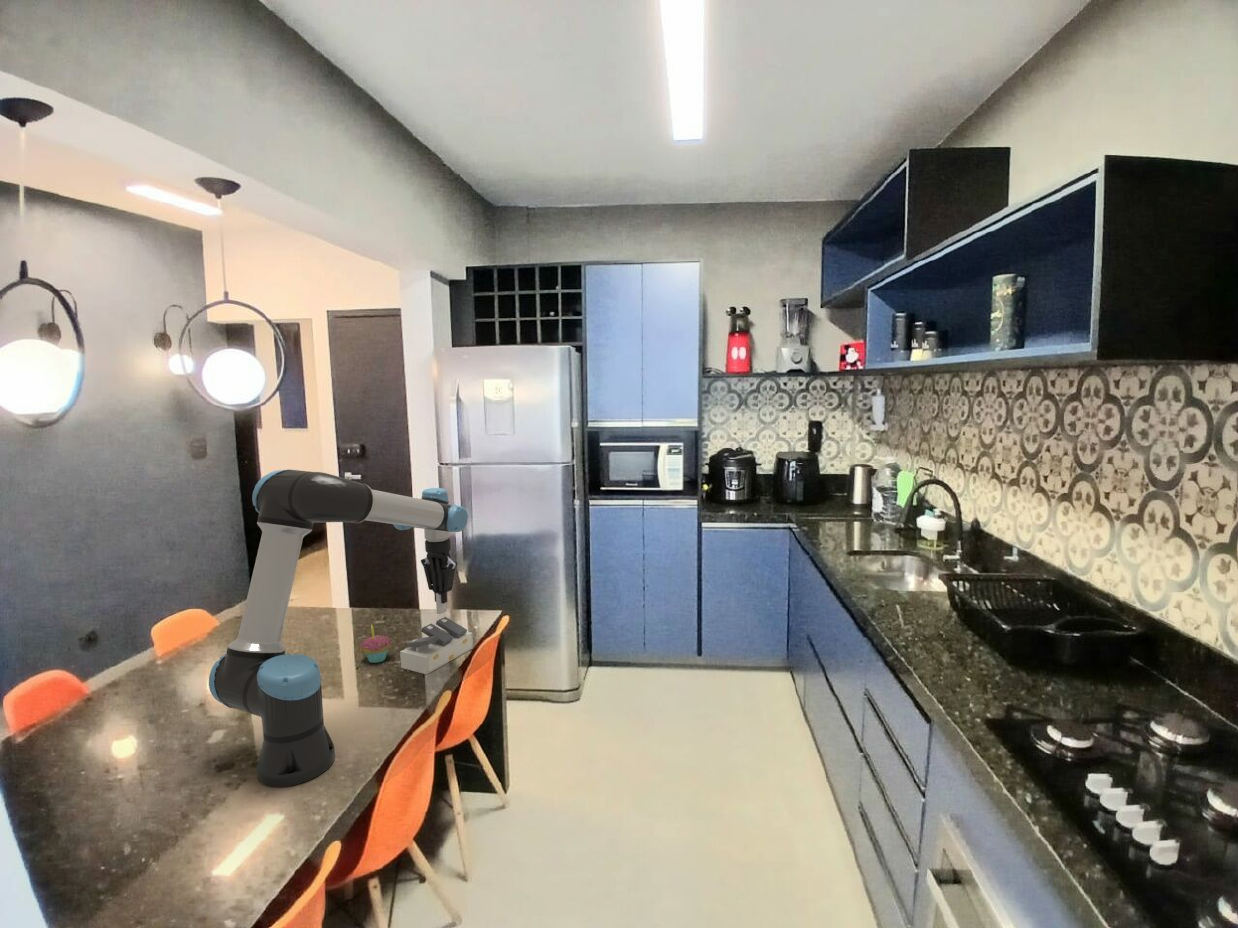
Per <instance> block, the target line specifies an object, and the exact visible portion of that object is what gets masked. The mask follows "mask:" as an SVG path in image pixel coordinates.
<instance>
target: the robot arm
mask: <svg viewBox="0 0 1238 928" xmlns="http://www.w3.org/2000/svg"><path fill="white" fill-rule="evenodd" d="M251 497H252V505H253V506H254V507H255V509H254V510H255V512H257V513H258V517H257V522H256V524H257V526H258V527H259V528H260V530H261V537H260V541H259V545H258V549H257V555H256V557H255V563H254V567H253V571H252V575H251V580H250V584H249V587H248V592H247V597H246V600H245V605H244V610H243V614H242V617H241V623H240V627H239V631H238V636H237V638H235V640H233V641H232V642H231V643H229V644H228V646H227V649H226V653H224V654H223V655H221V656H220V657H219V660H217V661H215V663H214V664H213V666H212V667H211V669H210V671H209V672H210V673H209V676H208V688H209V692H210V694H211V696H212V697H213V698H214V699H215V700H216V701H217V702H218V703H220V704H223V706H225V707H227V708H228V709H229V708H230V709H232V710H239V711H241V712H245V713H247V714H251V715H254V716H257V717H260V719H261V727H262V736H263V741H262V744H261V749H260V751H259V756H258V757H259V758H258V760H257V763H256V777H257V780H258V782H260V784H262V785H265V786H266V787H267V786H268V787H273V788H283V787H291V786H296V785H299V784H302V783H305V782H308V781H310V780H312V779H314V778H316V777H318V776H320V775H322V774H323V773H324V772H326V771H328V769H329V768H330V767H331V766H332V765H333V764H334V762H335V760H336V749H335V748H336V747H335V744H334V741H333V740H332V738H331V736H330V733H329V732H328V730H327V728H326V726H325V721H324V706H323V693H322V692H323V691H322V676H321V672H320V671H321V670H320V667H319V664H318V661H316V660H315V659H314V658H313V657H311V656H309V655H306V654H301V653H294V654H291V653H286V651H287V649H286V646H285V645H284V644H283V643H282V641H281V640H282V636H283V635H282V634H283V631H284V626H285V622H286V617H287V611H288V607H289V604H290V603H289V602H290V598H291V593H292V589H293V585H294V580H295V577H296V571H297V566H298V563H299V558H300V553H301V549H302V545H303V539H304V537H305V536H307V535H308V534H310V533H311V532H312V531H313V527H314V524H315V523H316V524H317V523H321V524H322V523H351V524H360V523H362V522H364V521H369V522H377V523H383V524H384V523H385V524H389V525H390V524H391V525H393V527H394V528H395V529H397V530H399V531H404V530H405V531H406V530H408V531H409V530H410V529H412V528H413V529H414V528H415V529H416V528H417V529H422V530H423V529H424V540H425V541H424V546H425V547H424V550H425V552H426V557H424V558H422V559H420V563H421V564H422V567H423V571H424V575H425V579H426V582H427V583H426V584H427V587H428V590H430V591H432V592H433V594H434V602H435V603H436V605H435V606H436V614H437V615H441V614H445V613H446V612H447V602H448V592H451V591H453V585H454V579H455V578H454V577H455V574H456V573H455V572H456V568H457V566H458V562H457V561H453V560H452V557H451V555H450V553H451V552H450V551H451V549H452V547H451V546H452V545H451V544H452V543H451V538H450V537H451V533H460V532H462V531H464V529H465V528H466V527H467V525H468V519H469V515H468V511H467V509H466V507H464V506H462V505H457V504H449V496H448V491H447V489H446V488H441V487H434V488H433V487H432V488H431V487H430V488H426V489H424V490H422V492H421V498H418V497H412V496H407V495H402V494H396V493H392V492H387V491H381V490H377V489H372V488H371V487H370V486H369V485H368V484H367V483H363V482H358V481H354V480H350V479H348V478H344V477H340V476H337V475H335V474H330V473H327V472H323V471H322V472H321V471H309V470H300V469H298V470H297V469H283V470H282V469H279V470H274V471H271V472H269V473H267V474H265V475H264V476H262V477H261V478H260V479H259V480H258V481H257V483H256V484H255V485H254V489H253V491H252V496H251Z"/></svg>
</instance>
